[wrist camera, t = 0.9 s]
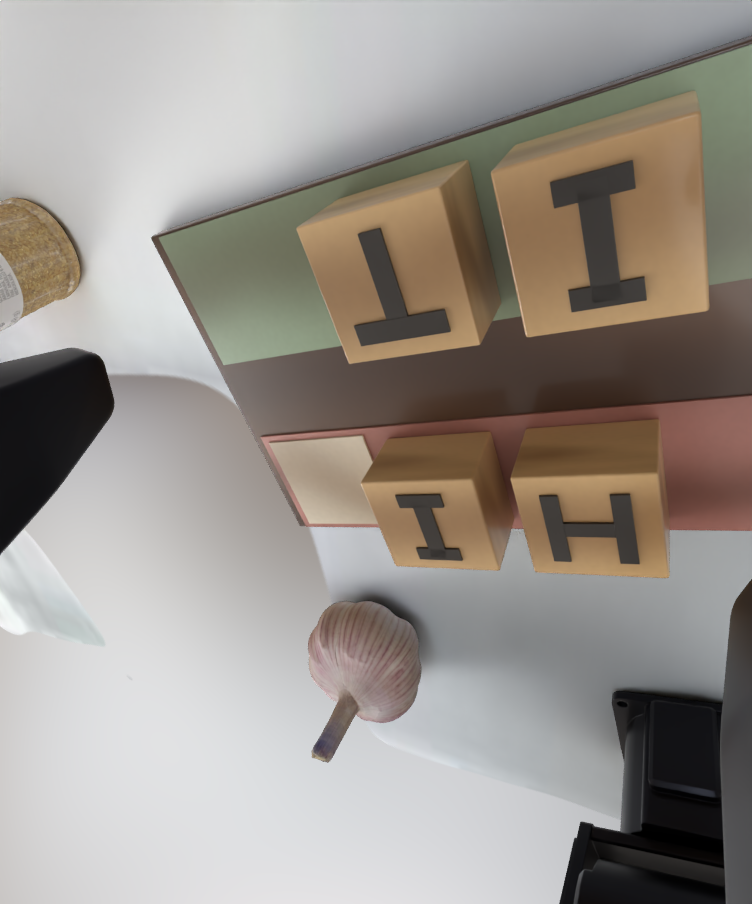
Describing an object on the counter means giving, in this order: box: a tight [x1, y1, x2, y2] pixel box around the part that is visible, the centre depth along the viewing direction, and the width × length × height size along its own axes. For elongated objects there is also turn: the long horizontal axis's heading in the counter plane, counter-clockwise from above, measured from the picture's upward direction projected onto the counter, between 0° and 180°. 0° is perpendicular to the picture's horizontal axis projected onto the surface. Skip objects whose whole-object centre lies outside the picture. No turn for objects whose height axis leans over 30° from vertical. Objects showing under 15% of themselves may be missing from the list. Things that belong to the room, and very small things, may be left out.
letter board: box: [151, 36, 752, 531], centre depth 22 cm, size 15×22×1 cm
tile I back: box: [361, 431, 514, 571], centre depth 24 cm, size 4×4×3 cm
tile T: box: [297, 160, 501, 364], centre depth 18 cm, size 4×4×3 cm
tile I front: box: [491, 91, 710, 337], centre depth 15 cm, size 4×4×3 cm
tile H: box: [510, 419, 670, 578], centre depth 21 cm, size 4×4×3 cm
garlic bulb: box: [308, 601, 421, 762], centre depth 32 cm, size 8×7×8 cm
